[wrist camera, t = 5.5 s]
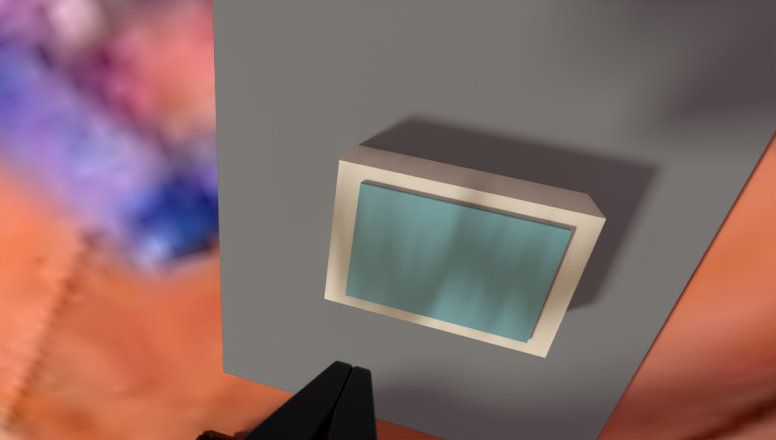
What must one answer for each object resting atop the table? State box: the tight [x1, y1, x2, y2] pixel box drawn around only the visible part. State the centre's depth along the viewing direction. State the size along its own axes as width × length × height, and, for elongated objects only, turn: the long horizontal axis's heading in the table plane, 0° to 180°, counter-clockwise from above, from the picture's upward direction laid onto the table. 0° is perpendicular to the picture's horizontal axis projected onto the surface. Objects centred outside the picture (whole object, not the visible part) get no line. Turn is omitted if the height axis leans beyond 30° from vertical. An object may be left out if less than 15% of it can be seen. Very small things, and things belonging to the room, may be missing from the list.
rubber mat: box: [213, 0, 776, 440], centre depth 17 cm, size 24×20×1 cm
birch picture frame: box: [324, 145, 606, 358], centre depth 16 cm, size 6×3×9 cm
